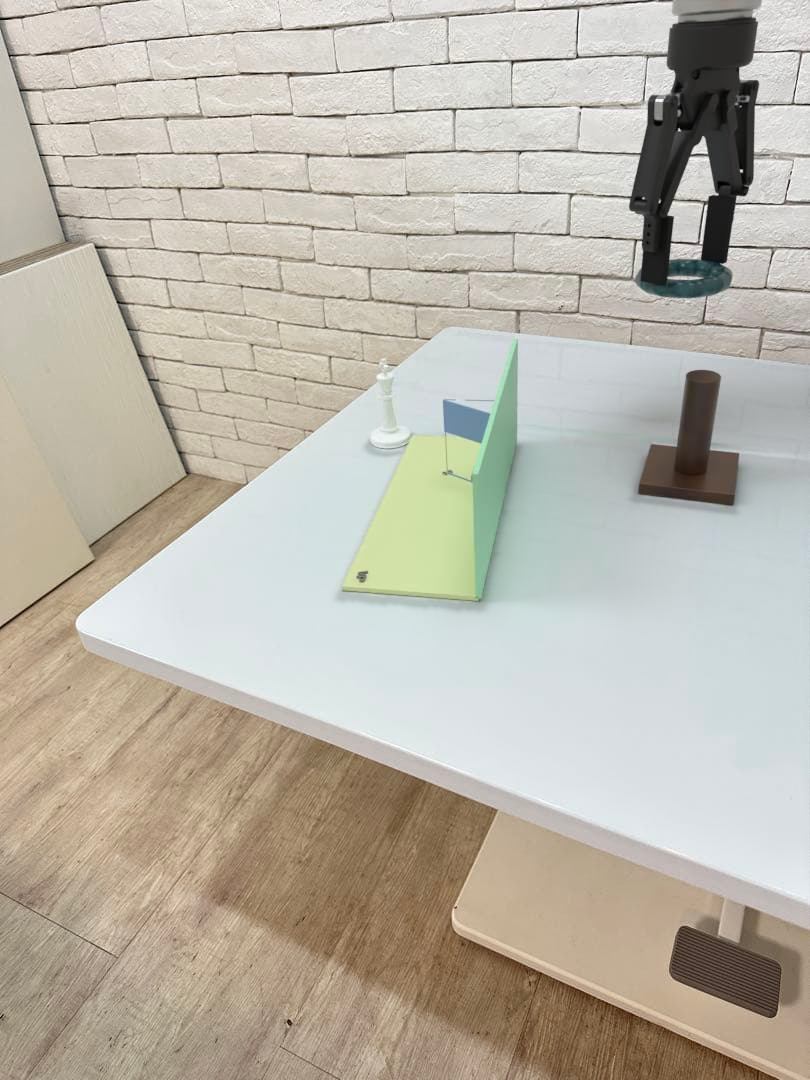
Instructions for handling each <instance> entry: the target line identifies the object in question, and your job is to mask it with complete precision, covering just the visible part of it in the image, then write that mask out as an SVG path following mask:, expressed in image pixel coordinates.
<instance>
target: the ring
mask: <svg viewBox="0 0 810 1080" xmlns="http://www.w3.org/2000/svg"><path fill="white" fill-rule="evenodd" d="M641 269H642V267H641V268H639V270H638V272H637V274H636V275H635V278H634V281H635V282H634V283H635V285H636V286H637V287H638V288H639V289H640V290H642V291H643V292H644V293H646V294H649V295H653V296H658V297H662V298H667V299H698V298H705V297H712V296H714V295H717V294H720V293H722V292H725V291H727V290H728V289H729V288H730V287H731V284H732V281H733V275H734V274H733V271H732V270H731V269H730V268H729V267H727V266H725V265H723V264H720V263H717V262H711V261H706V260H701V258H700V259H698V258H673V259H669V268H668V277H667V284H665V285H663V286H661V285H656V284H652V283H647V282H643V281H640V280H641ZM673 277H689V278H690V277H691V278H695V279H677V278H675V279H673Z"/></svg>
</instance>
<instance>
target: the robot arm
mask: <svg viewBox="0 0 810 1080" xmlns="http://www.w3.org/2000/svg"><path fill="white" fill-rule="evenodd" d="M762 2H763V0H672V4H671V5H672V6H671V14H672V15H673V16H677V22H676V23H672V24H671V27H670V28H669V32H668V41H667V42H668V43H667V52H666V53H667V54H666V67H667V69H668V70H670V71H673V73H674V79H673V80H674V81H673V84H672V87H671V89H670V92H669V93H666V94H651V95H650V96H649V97H648V100H647V115H646V116H647V117H646V118H647V121H646V128H645V133H644V136H643V143H642V146H641V151H640V156H639V159H638V162H637V168H636V173H635V177H634V181H633V186H632V191H631V194H630V200H629V203H628V208H629V212H634V213H635V215H642V217H643V224H642V225H643V227H642V237H641V249H642V259H641V268H642V269H641V268H640V269H641V280H640V281H643V282H647V283H652V284H656V285H661V286H663V285H665V284H667V279H668V278H669V277H668V268H669V260H671V259H670V257H671V249H672V248H671V247H672V240H673V239H672V238H673V230H674V229H673V228H674V219H675V216H674V215H669V213H670V209H671V207H672V205H673V202H674V199H675V197H676V194H677V191H678V189H679V187H680V184H681V181H682V178H683V176H684V174H685V171H686V169H687V166H688V163H689V160H690V158H691V156H692V154H693V153H692V152H693V150H694V148H695V147H697V146H698V145H699V144H700V143H701V141H702V139H703V138H704V140H705V145H706V151H707V155H708V161H709V166H710V172H711V176H712V182H713V187H714V193H716V194H711V195H708V200H707V208H706V216H705V223H704V231H703V239H702V245H701V253H700V260H706V261H711V262H717V263H720V264H721V265H723V264H727V262H728V257H729V249H730V242H731V236H732V228H733V223H734V218H735V211H736V205H737V197H746V196H747V195H748V193H749V191H750V186H751V185H752V184H753V182H754V178H755V125H756V123H755V120H756V119H755V118H756V103H757V98H758V95H759V94H758V93H759V89H760V81H759V80H758V79H741V78H740V68H742V67H746V66H748V65H750V64H751V63H752V61H753V59H754V54H755V47H756V40H757V35H758V34H757V32H758V25H759V21H758V20H757V17H753V15H754V14H753V13H754V10H758V9H759V8H760V7H761V6H762V4H763V3H762ZM741 170H742V172H741Z"/></svg>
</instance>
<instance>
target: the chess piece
mask: <svg viewBox="0 0 810 1080" xmlns="http://www.w3.org/2000/svg"><path fill="white" fill-rule="evenodd" d="M378 364H379V367H380V369H381V372H380V373H378V374H376V378H375V379H376V380H377V383H378V384H379V388H380V390H381V391H380V392H379V393H377V398H378V399H379V400H381V401H382V424H381V425H380V426H379V427H377V428H376V429H374V430H373V431H372V432H370V440H369V441H370V444H371V445H372V446H374V447H376V448H379V449H385V450H386V449H387V450H389V449H390V450H391V449H396V448H397V449H398V448H401V447H404V446H406V445H408V444H409V442H410V439H411V437H412V435H411V433H412V432H411V431H410V429H409V428H408V427H406V426H404V425H400V424H399V423H398V422H397V419H396V417H395V416H396V415H395V411H394V407H393V401H392V400H393V399H395V398H396V397H397V394H396V392H395V391H393V390H392V387H393V382H394V379H395V375H394V374H393V373H392V372H389V371H390V365H388V364H387V359H386V358H385V357H383V358H381V359H380V362H379V363H378Z"/></svg>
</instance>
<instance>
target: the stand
mask: <svg viewBox="0 0 810 1080" xmlns="http://www.w3.org/2000/svg"><path fill="white" fill-rule="evenodd" d="M721 381H722V376H721V374H720V373H718V372H717V371H714V370H708V369H694V370H691V371H688V372H687V373H686V374H685V380H684V386H683V387H684V388H683V395H682V401H681V402H682V403H681V409H680V416H679V417H680V418H679V426H678V433H677V440H676V441H677V442H676V445H666V444H655V443H651V444H650V447H649V450H648V453H647V457H646V459H645V463H644V465H643V470H642V472H641V476H640V479H639V482H638V492H637V493H638V494H641V495H646V496H647V495H648V496H657V497H665V498H672V499H681V500H688V501H697V502H705V503H713V504H721V505H729V506H734V501H735V498H736V497H735V496H736V487H737V479H738V470H739V460H740V453H739V452H733V451H724V450H714V449H711V446H712V440H713V434H714V433H713V432H714V427H715V419H716V414H717V406H718V401H719V393H720V388H721Z"/></svg>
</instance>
